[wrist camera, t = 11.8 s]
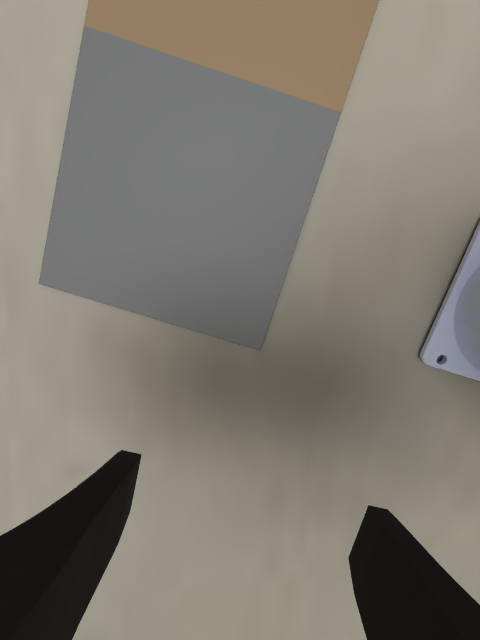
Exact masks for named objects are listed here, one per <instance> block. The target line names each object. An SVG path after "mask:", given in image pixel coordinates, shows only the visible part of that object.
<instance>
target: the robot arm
mask: <svg viewBox="0 0 480 640" xmlns="http://www.w3.org/2000/svg"><path fill="white" fill-rule="evenodd" d="M440 355H443V359H442V360H441V361H440V362H437V361H436V360H437V358H438V356H440ZM420 359H421V360H422V362H423V363H425V364H426V365H428V366H432V367H435V368H438V369H441V370H445V371H448V372H451V373H454V374H458V375H461V376H464V377H467V378H471V379H474V380H477V381H480V222H479V224H478V226H477V228H476V231H475V233H474V235H473V237H472V239H471V242H470V244H469V246H468V248H467V251H466V253H465V255H464V257H463V259H462V262H461V264H460V266H459V268H458V270H457V273H456V275H455V277H454V279H453V282H452V284H451V286H450V288H449V290H448V293H447V295H446V297H445V299H444V301H443V304H442V306H441V308H440V310H439V313H438V315H437V317H436V319H435V321H434V324H433V326H432V328H431V330H430V332H429V335H428V337H427V339H426V341H425V344H424V346H423V348H422V350H421V353H420ZM140 459H141V454H137V453H132V452H128V451H123V450H121V451H120V452H118V453H117V454H116V455H114V456H113V457H112V458H111V459H110V460H109V461H108V462H107V463H105V464H104V465H103V466H102V467H101V468H100V469H98V470H97V471H96V472H95V473H94V474H92V475H91V476H90V477H89V478H87V479H86V480H85V481H83V482H82V483H81V484H80V485H78V486H77V487H76V488H74V489H73V490H72V491H70V492H69V493H68V494H66V495H65V496H63V497H62V498H61V499H59V500H58V501H56V502H55V503H53V504H52V505H51V506H49V507H48V508H46V509H45V510H43V511H42V512H40V513H38V514H37V515H35V516H34V517H32V518H31V519H29V520H27V521H26V522H24V523H22V524H20V525H19V526H17V527H15V528H14V529H12V530H10V531H8V532H7V533H5V534H3V535H1V536H0V640H72V638H73V636H74V634H75V632H76V630H77V627H78V625H79V623H80V621H81V619H82V617H83V615H84V613H85V611H86V609H87V606H88V604H89V602H90V600H91V598H92V596H93V594H94V592H95V590H96V588H97V586H98V584H99V582H100V580H101V578H102V576H103V574H104V572H105V570H106V568H107V566H108V564H109V561H110V559H111V557H112V555H113V553H114V551H115V549H116V547H117V545H118V543H119V540H120V537H121V535H122V532H123V529H124V526H125V524H126V521H127V518H128V515H129V513H130V510H131V505H132V500H133V495H134V490H135V484H136V479H137V474H138V469H139V464H140ZM349 564H350V571H351V577H352V583H353V589H354V594H355V598H356V602H357V605H358V609H359V613H360V616H361V620H362V623H363V627H364V630H365V634H366V637H367V640H480V605H479V604H478V603H477V602H476V601H475V600H474V599H473V598H472V597H471V596H470V595H469V594H468V593H467V592H466V591H465V590H464V589H463V588H462V587H461V586H460V585H459V584H458V583H457V582H456V581H455V580H454V579H453V578H452V577H451V576H450V575H449V574H448V573H447V572H446V571H445V570H444V569H443V568H442V567H441V566H440V565H439V563H438V562H437V561H436V560H435V559H434V558H433V557H432V556H431V555H430V554H429V553H428V552H427V551H426V550H425V548H424V547H423V546H422V545H421V544H420V543H419V542H418V541H417V540H416V539H415V538H414V537H413V535H412V534H411V533H410V532H409V531H408V530H407V529H406V528H405V527H404V526H403V525H402V524H401V523H400V522H399V521H398V519H397V518H396V517H395V516H394V515H393V514H392V513H391V512H389V511H388V510H387V509H383V508H378V507H374V506H369V505H368V508H367V511H366V513H365V516H364V519H363V521H362V524H361V526H360V529H359V532H358V534H357V537H356V539H355V542H354V545H353V547H352V550H351V553H350V555H349Z"/></svg>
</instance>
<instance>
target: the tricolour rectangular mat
mask: <svg viewBox="0 0 480 640" xmlns="http://www.w3.org/2000/svg"><path fill="white" fill-rule="evenodd" d="M378 1H379V0H89V1H88V7H87V12H86V18H85V24H84V30H83V35H82V41H81V47H80V52H79V58H78V64H77V69H76V75H75V81H74V86H73V92H72V98H71V103H70V109H69V115H68V120H67V126H66V132H65V137H64V143H63V149H62V154H61V160H60V166H59V171H58V177H57V183H56V188H55V194H54V200H53V205H52V211H51V217H50V223H49V228H48V234H47V240H46V245H45V251H44V257H43V262H42V268H41V274H40V279H39V284H41V285H44V286H48V287H51V288H54V289H58V290H61V291H64V292H68V293H71V294H74V295H78V296H81V297H84V298H88V299H91V300H94V301H97V302H101V303H104V304H107V305H111V306H114V307H117V308H121V309H124V310H127V311H131V312H134V313H137V314H141V315H144V316H147V317H151V318H154V319H157V320H160V321H164V322H167V323H170V324H174V325H177V326H180V327H184V328H187V329H190V330H194V331H197V332H200V333H204V334H207V335H210V336H214V337H217V338H220V339H223V340H227V341H230V342H233V343H237V344H240V345H243V346H247V347H250V348H253V349H257V350H260V349H261V346H262V343H263V340H264V337H265V335H266V332H267V329H268V326H269V323H270V320H271V317H272V314H273V311H274V308H275V305H276V302H277V299H278V296H279V293H280V290H281V287H282V284H283V281H284V278H285V275H286V273H287V270H288V267H289V264H290V261H291V258H292V255H293V252H294V249H295V246H296V243H297V240H298V237H299V234H300V231H301V228H302V225H303V222H304V219H305V216H306V214H307V211H308V208H309V205H310V202H311V199H312V196H313V193H314V190H315V187H316V184H317V181H318V178H319V175H320V172H321V169H322V166H323V163H324V160H325V157H326V155H327V152H328V149H329V146H330V143H331V140H332V137H333V134H334V131H335V128H336V125H337V122H338V119H339V116H340V113H341V110H342V107H343V104H344V101H345V98H346V96H347V93H348V90H349V87H350V84H351V81H352V78H353V75H354V72H355V69H356V66H357V63H358V60H359V57H360V54H361V51H362V48H363V45H364V42H365V39H366V37H367V34H368V31H369V28H370V25H371V22H372V19H373V16H374V13H375V10H376V7H377V4H378Z"/></svg>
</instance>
